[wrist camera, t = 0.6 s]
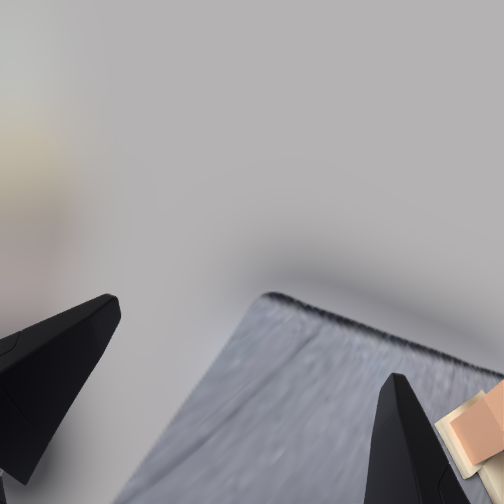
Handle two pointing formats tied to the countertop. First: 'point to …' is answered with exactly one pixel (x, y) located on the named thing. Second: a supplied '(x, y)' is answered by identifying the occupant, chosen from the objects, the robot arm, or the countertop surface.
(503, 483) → the pull strip
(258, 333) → the countertop surface
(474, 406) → the terracotta cube
